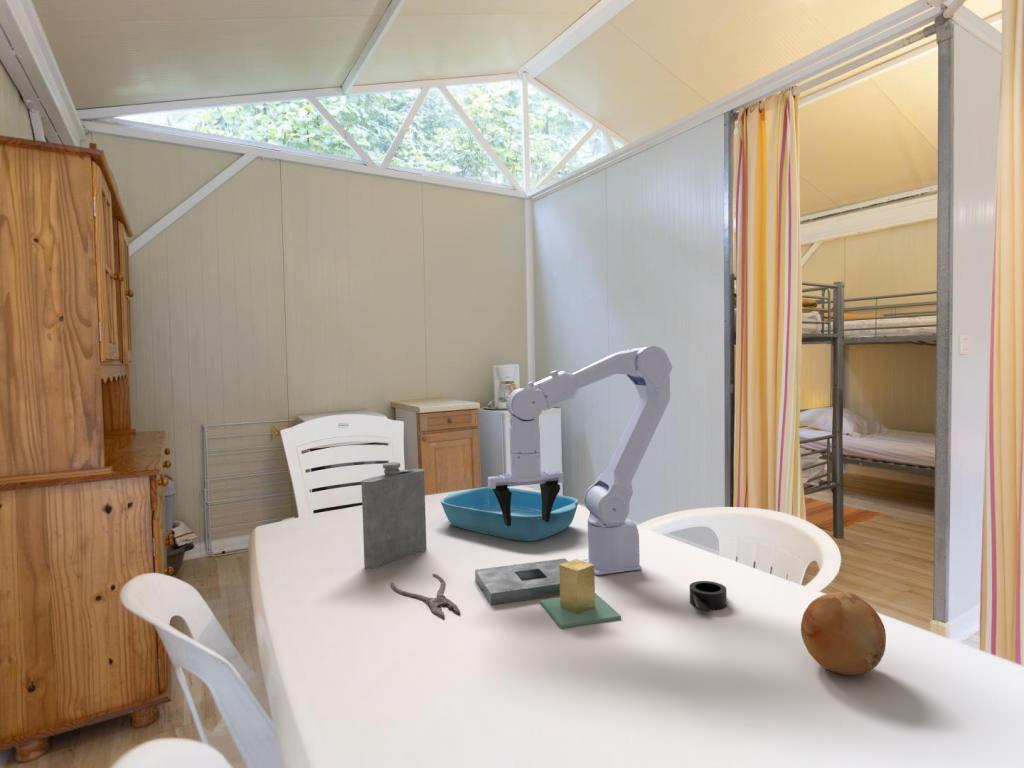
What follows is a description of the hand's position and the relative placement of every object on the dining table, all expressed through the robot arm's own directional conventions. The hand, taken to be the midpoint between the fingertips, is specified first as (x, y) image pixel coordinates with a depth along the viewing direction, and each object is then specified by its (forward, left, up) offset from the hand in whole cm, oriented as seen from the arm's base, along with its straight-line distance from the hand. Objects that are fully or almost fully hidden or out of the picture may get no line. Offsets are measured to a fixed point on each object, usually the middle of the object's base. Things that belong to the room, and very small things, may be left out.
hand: (526, 522), depth 114 cm
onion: (-28, +47, -10) cm, 55 cm away
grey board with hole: (+1, +6, -10) cm, 11 cm away
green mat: (-3, +19, -10) cm, 21 cm away
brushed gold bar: (-3, +18, -9) cm, 21 cm away
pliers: (+18, +4, -10) cm, 21 cm away
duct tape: (-24, +23, -10) cm, 35 cm away
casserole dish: (-6, -33, -10) cm, 35 cm away
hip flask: (+23, -19, -10) cm, 32 cm away
